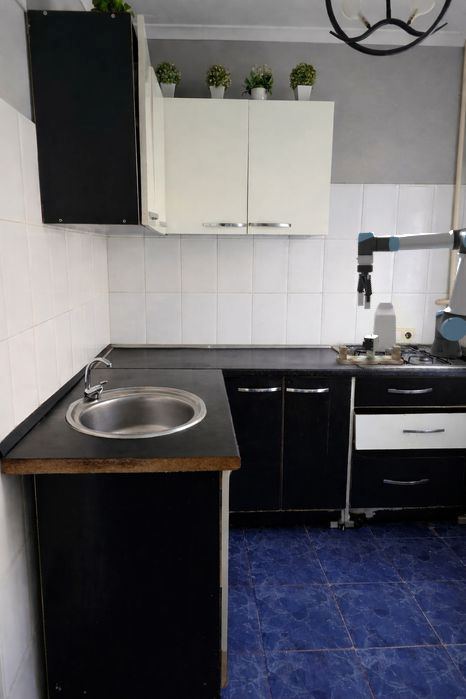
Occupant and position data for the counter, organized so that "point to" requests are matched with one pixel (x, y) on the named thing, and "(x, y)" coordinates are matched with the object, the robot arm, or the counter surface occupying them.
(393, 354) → the pipe stand
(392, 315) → the milk
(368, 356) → the pneumatic valve
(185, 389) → the counter surface
